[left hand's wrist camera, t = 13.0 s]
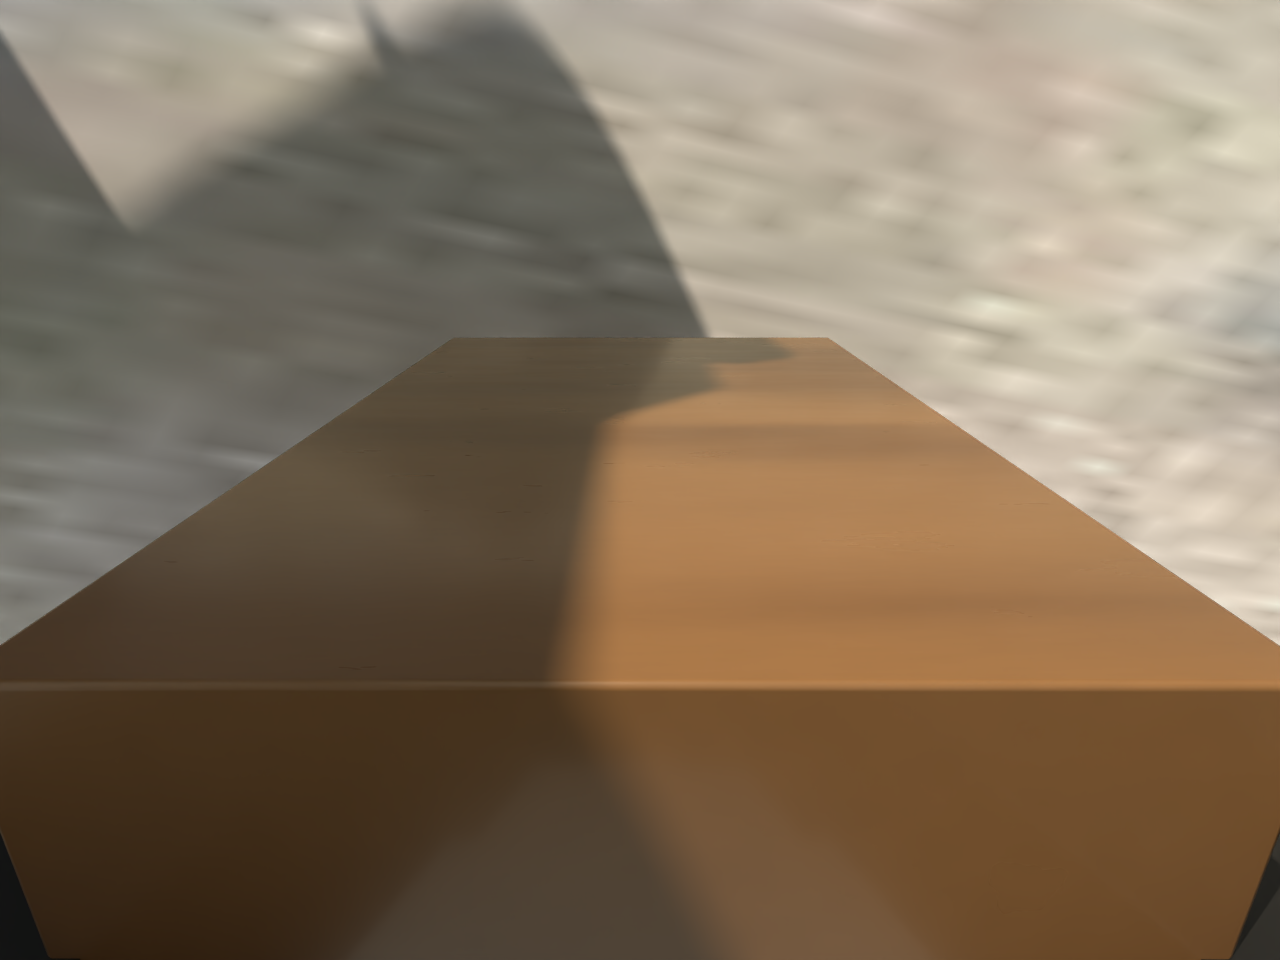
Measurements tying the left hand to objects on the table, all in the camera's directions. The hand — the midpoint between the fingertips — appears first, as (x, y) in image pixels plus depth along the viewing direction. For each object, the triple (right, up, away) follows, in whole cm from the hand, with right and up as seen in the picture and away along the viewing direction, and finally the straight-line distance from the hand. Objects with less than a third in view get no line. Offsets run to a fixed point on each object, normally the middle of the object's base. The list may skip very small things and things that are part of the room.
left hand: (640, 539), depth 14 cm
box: (0, -6, +5) cm, 8 cm away
